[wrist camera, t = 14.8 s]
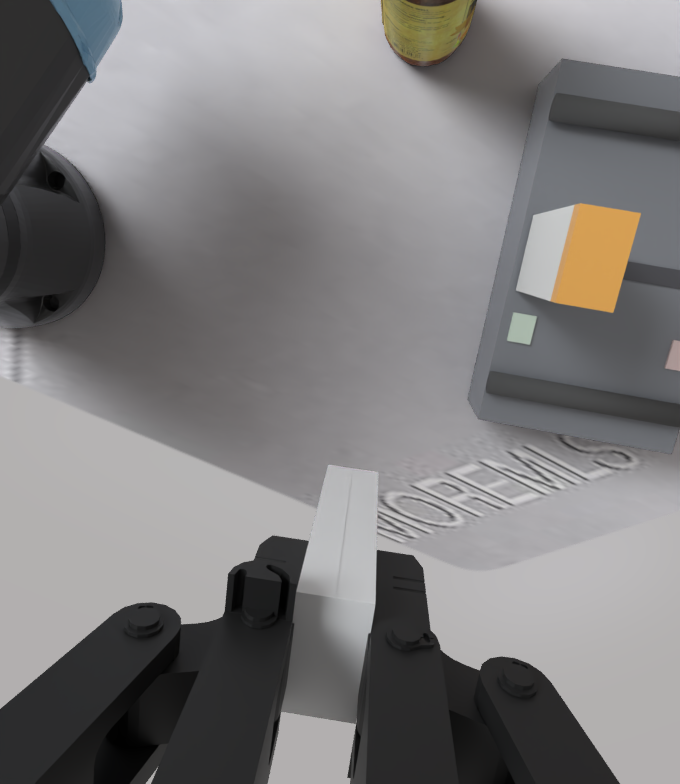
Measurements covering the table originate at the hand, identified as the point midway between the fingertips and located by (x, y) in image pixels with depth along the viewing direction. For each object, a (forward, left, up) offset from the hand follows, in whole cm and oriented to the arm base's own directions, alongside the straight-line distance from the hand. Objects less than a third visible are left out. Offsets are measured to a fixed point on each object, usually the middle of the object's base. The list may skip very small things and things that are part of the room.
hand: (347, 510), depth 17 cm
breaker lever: (+10, +9, -26) cm, 29 cm away
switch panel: (+15, +9, -32) cm, 36 cm away
